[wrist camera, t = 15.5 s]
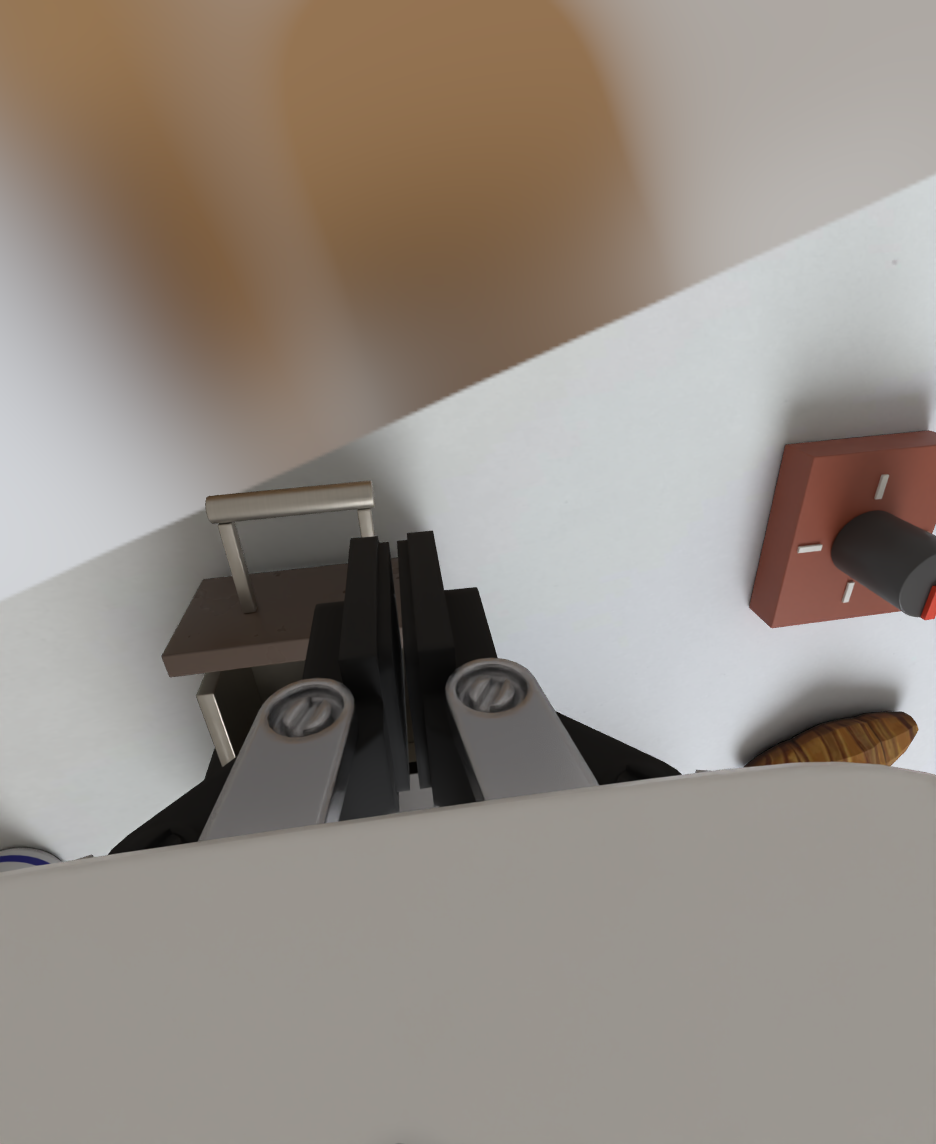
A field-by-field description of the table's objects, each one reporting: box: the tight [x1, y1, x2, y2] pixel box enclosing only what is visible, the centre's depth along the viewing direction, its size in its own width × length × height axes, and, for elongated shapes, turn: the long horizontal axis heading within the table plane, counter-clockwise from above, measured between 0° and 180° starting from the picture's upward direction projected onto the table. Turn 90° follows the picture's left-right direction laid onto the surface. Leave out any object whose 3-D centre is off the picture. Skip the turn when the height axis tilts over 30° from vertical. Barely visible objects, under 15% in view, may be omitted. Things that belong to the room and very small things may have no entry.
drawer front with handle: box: [162, 480, 416, 767], centre depth 30 cm, size 19×12×7 cm, turn 3°
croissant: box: [743, 711, 918, 768], centre depth 43 cm, size 14×7×5 cm, turn 109°
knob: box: [831, 510, 936, 620], centre depth 31 cm, size 4×4×5 cm
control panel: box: [749, 430, 936, 628], centre depth 34 cm, size 11×9×3 cm
